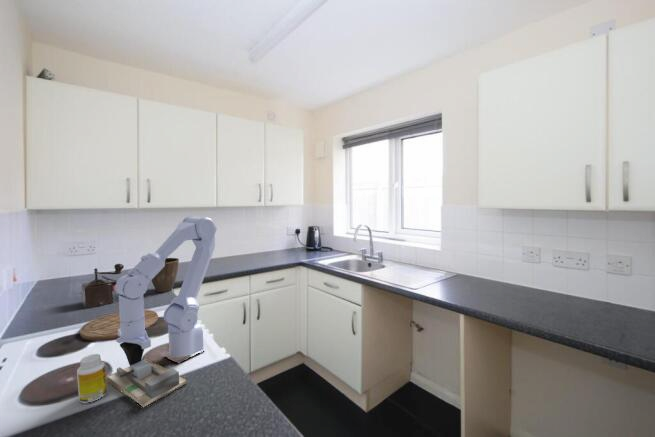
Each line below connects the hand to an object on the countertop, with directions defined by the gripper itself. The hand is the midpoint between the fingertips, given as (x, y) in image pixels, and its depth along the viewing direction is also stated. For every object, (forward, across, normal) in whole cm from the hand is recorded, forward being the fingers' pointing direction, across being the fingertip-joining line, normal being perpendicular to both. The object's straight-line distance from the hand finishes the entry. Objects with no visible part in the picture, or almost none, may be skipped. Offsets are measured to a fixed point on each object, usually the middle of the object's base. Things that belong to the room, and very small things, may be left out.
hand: (135, 366), depth 86 cm
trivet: (+3, -41, +13) cm, 43 cm away
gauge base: (+3, +6, 0) cm, 6 cm away
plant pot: (+3, -70, +46) cm, 84 cm away
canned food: (+3, -97, +32) cm, 102 cm away
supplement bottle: (+3, +1, -10) cm, 11 cm away
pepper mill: (+3, -77, +21) cm, 80 cm away
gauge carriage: (+2, +3, -2) cm, 4 cm away
